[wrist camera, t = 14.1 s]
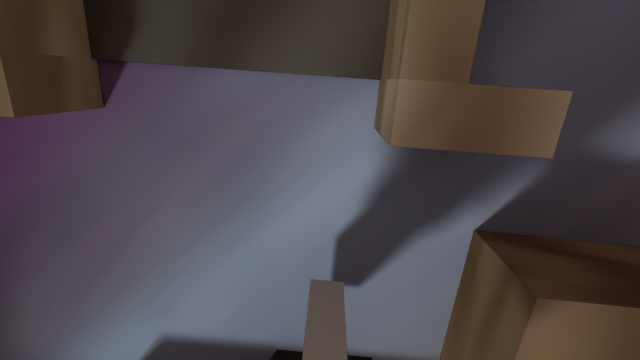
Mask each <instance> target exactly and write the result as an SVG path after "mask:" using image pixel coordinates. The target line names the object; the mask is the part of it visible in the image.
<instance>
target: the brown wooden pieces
mask: <svg viewBox="0 0 640 360" xmlns="http://www.w3.org/2000/svg"><path fill="white" fill-rule="evenodd" d="M485 2H486V0H0V116H3V117H22V116H32V115H41V114H50V113H59V112H68V111H77V110H86V109H95V108H104V105H103V98H102V91H101V84H100V77H99V70H98V63H97V59H99V60H113V61H127V62H141V63H155V64H169V65H183V66H196V67H210V68H224V69H238V70H252V71H266V72H280V73H293V74H307V75H321V76H335V77H349V78H363V79H377V80H380V85H379V93H378V101H377V109H376V117H375V125H374V128H375V129H376V131H377V132H378V133H379V134H380V135H381V136H382V138H383V139H384V140H385V141H386V142H387V143H388V144H389V146H394V147H407V148H420V149H433V150H446V151H459V152H472V153H485V154H498V155H511V156H524V157H537V158H550V159H553V155H554V152H555V149H556V146H557V142H558V139H559V136H560V133H561V130H562V126H563V123H564V120H565V117H566V113H567V110H568V107H569V104H570V101H571V97H572V94H573V91H562V90H548V89H534V88H520V87H506V86H493V85H479V84H469V79H470V74H471V70H472V65H473V60H474V55H475V50H476V46H477V41H478V36H479V31H480V26H481V21H482V17H483V12H484V7H485Z"/></svg>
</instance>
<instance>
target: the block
mask: <svg viewBox="0 0 640 360" xmlns="http://www.w3.org/2000/svg"><path fill="white" fill-rule="evenodd" d="M440 360H640V247H637V246H627V245H617V244H607V243H597V242H587V241H576V240H566V239H556V238H546V237H536V236H526V235H516V234H506V233H496V232H486V231H476V230H474V232H473V236H472V240H471V243H470V247H469V251H468V255H467V258H466V262H465V266H464V269H463V273H462V277H461V281H460V284H459V288H458V292H457V296H456V299H455V303H454V307H453V310H452V314H451V318H450V322H449V325H448V329H447V333H446V336H445V340H444V344H443V348H442V351H441V355H440Z"/></svg>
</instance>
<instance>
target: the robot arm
mask: <svg viewBox="0 0 640 360" xmlns="http://www.w3.org/2000/svg"><path fill="white" fill-rule="evenodd" d="M270 360H372V358H371V357H361V356H350V355H347V342H346V324H345V306H344V288H343V282H337V281H326V280H315V279H311V283H310V292H309V301H308V310H307V320H306V329H305V338H304V347H303V352H298V351H287V350H276V352H275V353H274V354H273V356H272V357H271V359H270Z"/></svg>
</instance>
